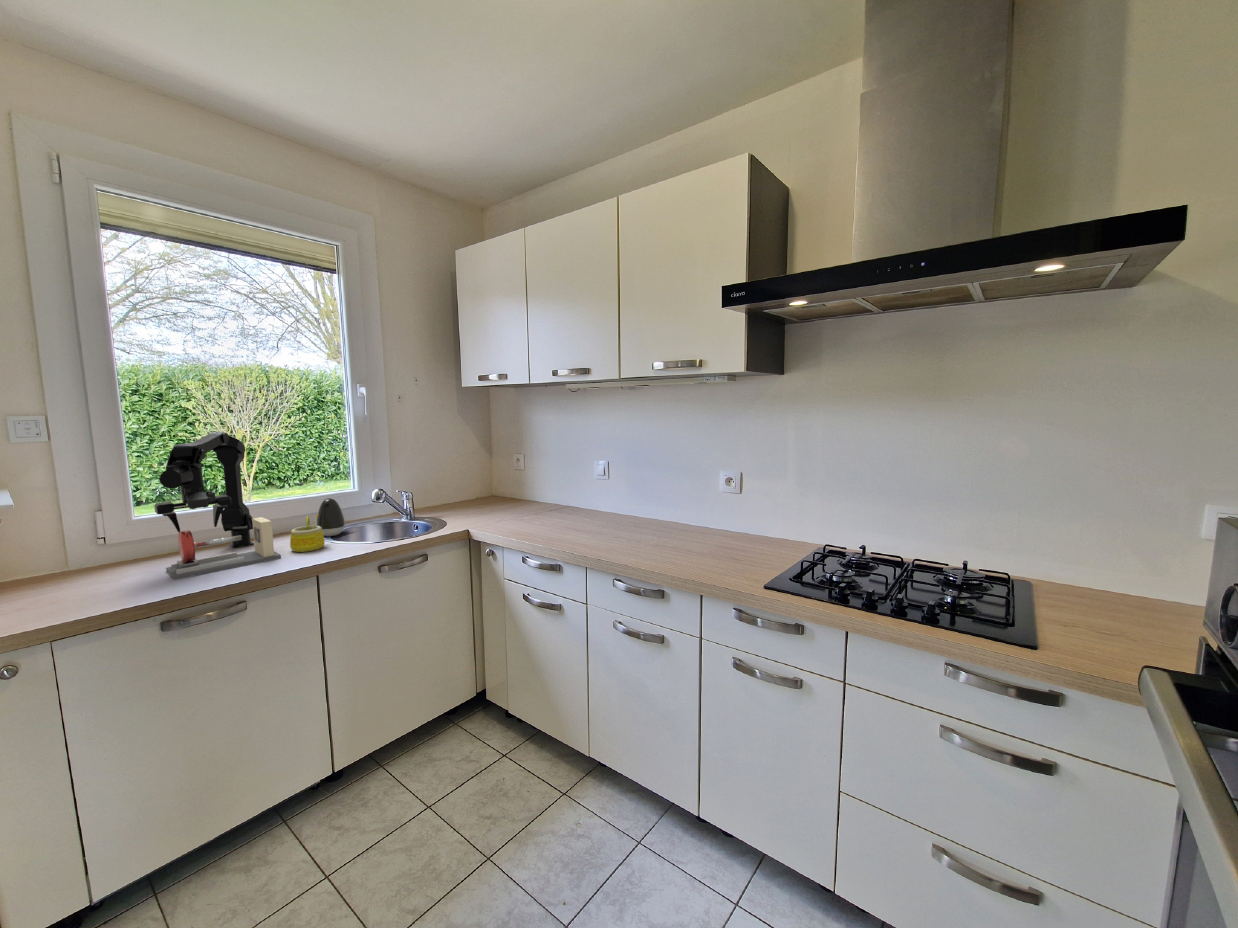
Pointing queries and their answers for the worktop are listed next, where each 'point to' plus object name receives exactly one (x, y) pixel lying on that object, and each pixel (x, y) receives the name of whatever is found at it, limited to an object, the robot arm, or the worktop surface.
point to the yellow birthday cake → (307, 537)
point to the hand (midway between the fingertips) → (197, 529)
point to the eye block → (234, 554)
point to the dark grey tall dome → (330, 518)
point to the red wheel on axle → (189, 547)
